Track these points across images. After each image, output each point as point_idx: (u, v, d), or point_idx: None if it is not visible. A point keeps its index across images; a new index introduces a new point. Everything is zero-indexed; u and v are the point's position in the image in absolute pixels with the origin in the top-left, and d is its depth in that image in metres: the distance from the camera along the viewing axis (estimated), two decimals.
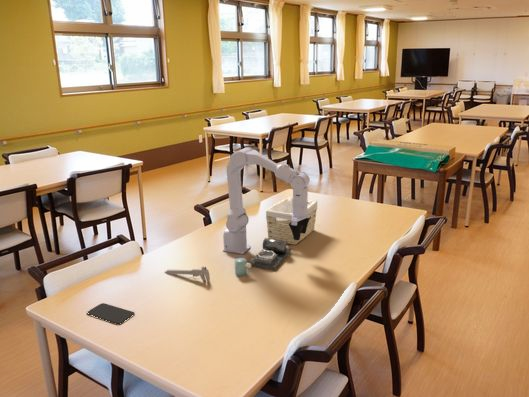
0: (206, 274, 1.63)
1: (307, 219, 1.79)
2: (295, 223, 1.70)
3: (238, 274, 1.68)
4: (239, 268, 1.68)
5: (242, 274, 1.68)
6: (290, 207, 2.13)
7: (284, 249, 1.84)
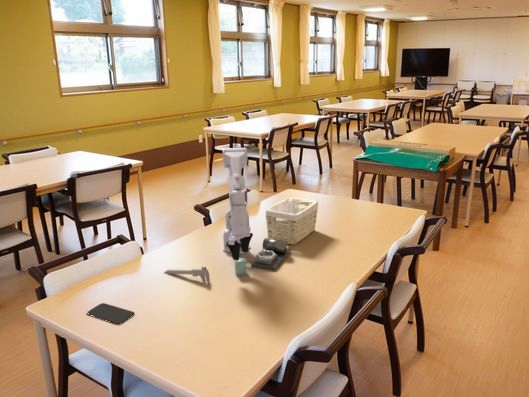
0: (206, 274, 1.63)
1: (248, 237, 1.69)
2: (232, 242, 1.59)
3: (238, 274, 1.68)
4: (239, 268, 1.68)
5: (242, 274, 1.68)
6: (291, 207, 2.13)
7: (284, 249, 1.84)
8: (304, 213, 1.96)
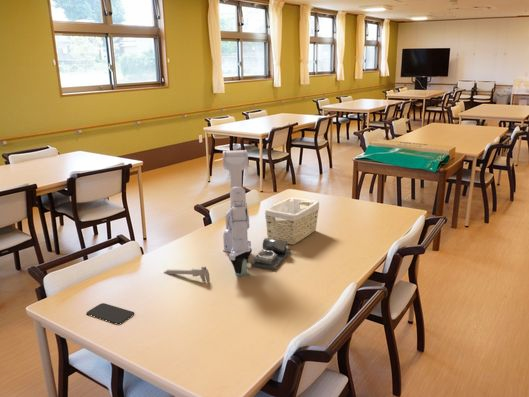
0: (206, 274, 1.63)
1: (247, 253, 1.70)
2: (233, 258, 1.61)
3: (238, 274, 1.68)
4: None
5: (242, 274, 1.68)
6: (292, 207, 2.13)
7: (284, 249, 1.84)
8: (303, 213, 1.95)
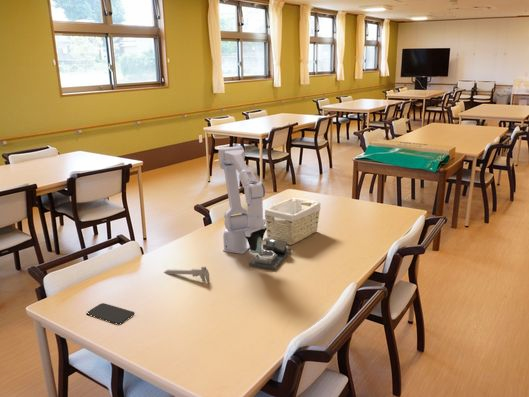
0: (206, 274, 1.63)
1: (262, 231, 1.72)
2: (248, 234, 1.64)
3: (253, 251, 1.71)
4: None
5: (257, 251, 1.71)
6: (294, 207, 2.13)
7: (284, 249, 1.84)
8: (302, 214, 1.95)
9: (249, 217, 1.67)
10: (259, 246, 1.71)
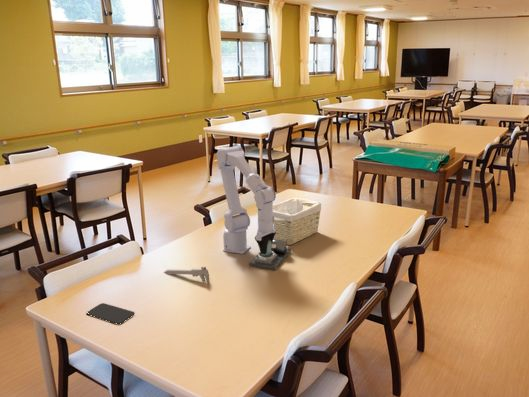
0: (206, 274, 1.63)
1: (272, 235, 1.76)
2: (259, 238, 1.68)
3: (263, 254, 1.75)
4: None
5: (267, 254, 1.75)
6: (295, 207, 2.12)
7: (284, 249, 1.84)
8: (302, 214, 1.95)
9: (259, 221, 1.71)
10: (269, 249, 1.75)
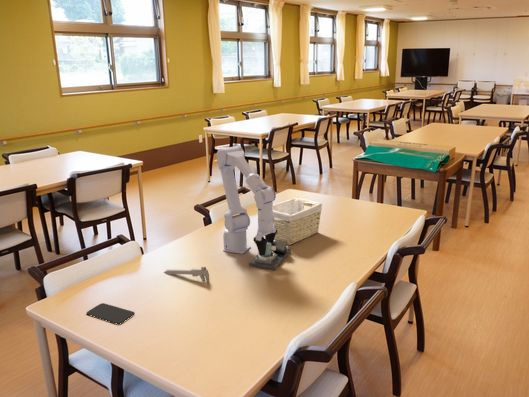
0: (206, 274, 1.63)
1: (273, 233, 1.78)
2: (259, 238, 1.68)
3: None
4: None
5: None
6: (296, 208, 2.12)
7: (284, 249, 1.84)
8: (301, 214, 1.95)
9: (259, 221, 1.71)
10: (269, 252, 1.75)
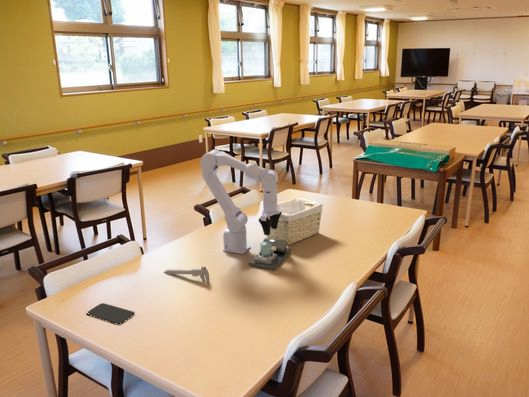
0: (206, 274, 1.63)
1: (278, 215, 1.87)
2: (264, 219, 1.77)
3: None
4: (264, 250, 1.75)
5: None
6: (297, 208, 2.12)
7: (284, 249, 1.84)
8: (300, 214, 1.94)
9: (264, 203, 1.80)
10: (269, 252, 1.75)
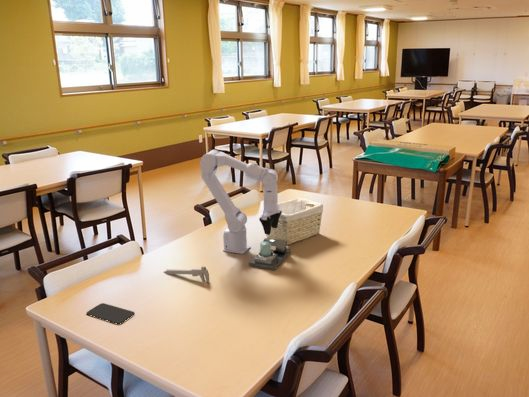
0: (205, 274, 1.63)
1: (278, 214, 1.87)
2: (265, 218, 1.78)
3: None
4: (264, 250, 1.75)
5: (267, 256, 1.75)
6: (298, 208, 2.12)
7: (284, 249, 1.84)
8: (300, 215, 1.94)
9: (265, 202, 1.81)
10: (269, 251, 1.75)
